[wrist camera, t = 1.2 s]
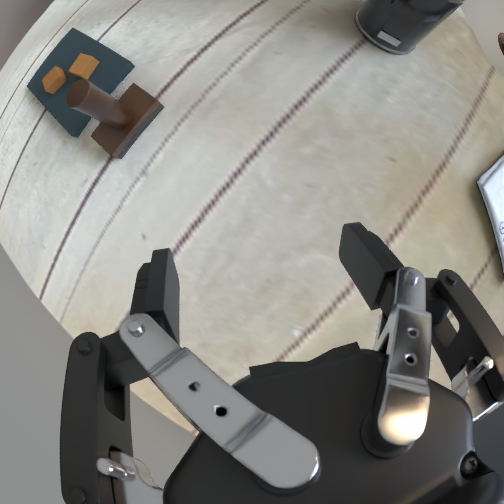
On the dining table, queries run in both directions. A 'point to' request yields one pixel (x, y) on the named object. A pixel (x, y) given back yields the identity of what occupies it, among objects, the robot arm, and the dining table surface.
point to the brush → (114, 114)
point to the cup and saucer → (501, 41)
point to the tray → (63, 57)
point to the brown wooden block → (84, 66)
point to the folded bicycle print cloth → (495, 200)
